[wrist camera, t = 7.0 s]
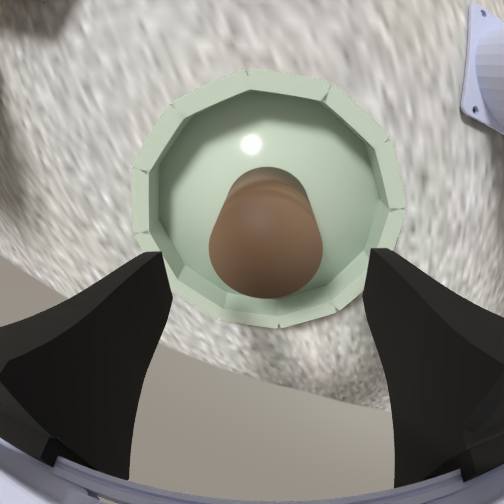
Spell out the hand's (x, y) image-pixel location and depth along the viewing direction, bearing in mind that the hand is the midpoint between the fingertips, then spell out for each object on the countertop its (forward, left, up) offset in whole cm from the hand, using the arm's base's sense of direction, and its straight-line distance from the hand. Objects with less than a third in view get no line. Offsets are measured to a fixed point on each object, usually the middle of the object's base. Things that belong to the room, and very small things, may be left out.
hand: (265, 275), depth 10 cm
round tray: (0, 0, -7) cm, 7 cm away
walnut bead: (0, 0, -7) cm, 7 cm away
